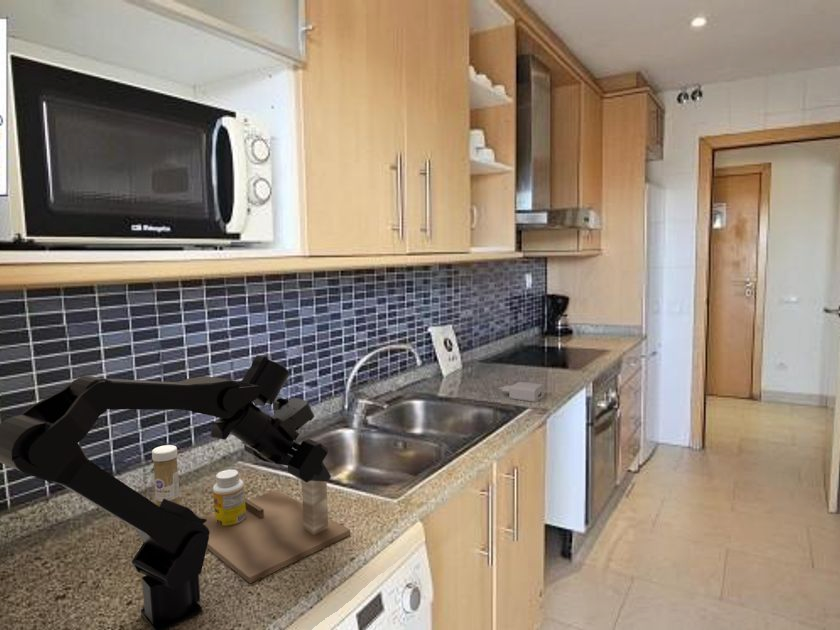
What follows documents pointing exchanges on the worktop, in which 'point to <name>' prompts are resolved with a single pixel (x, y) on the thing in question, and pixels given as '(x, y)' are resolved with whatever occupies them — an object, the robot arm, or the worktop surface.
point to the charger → (524, 391)
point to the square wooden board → (275, 532)
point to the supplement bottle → (229, 498)
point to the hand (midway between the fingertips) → (313, 471)
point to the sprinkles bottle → (166, 474)
